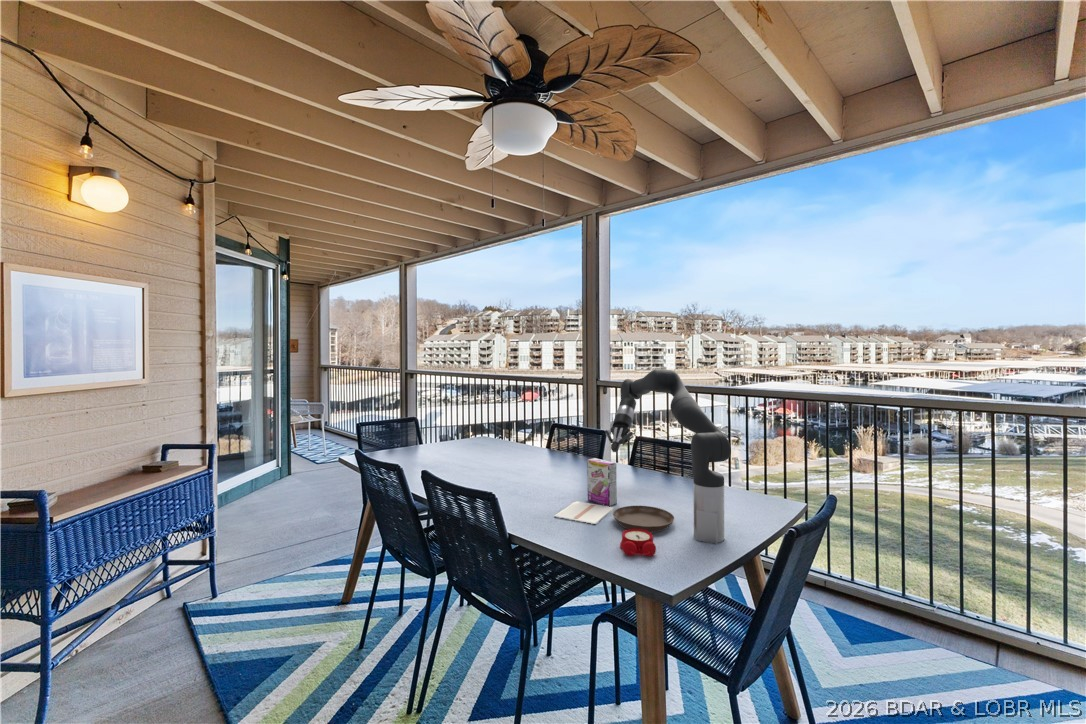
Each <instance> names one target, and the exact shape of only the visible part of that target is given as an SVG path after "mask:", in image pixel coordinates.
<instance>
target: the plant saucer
mask: <svg viewBox="0 0 1086 724" xmlns="http://www.w3.org/2000/svg"><path fill="white" fill-rule="evenodd" d="M612 516H613V518H614V520H615V521H616V522H617V523H618V524H619V525H620V526H621V527H622V528H625V529H626V530H629V529H642V530H646V531H648V532H650V533H657V532H658V533H659V532H663V531H664V530H666V529H668V528H669V527H670V526H671V525H672V524H673V522H674V521H675V516H674V514H672V512H669V511H668V510H665V509H663V508H660V507H655V506H648V505H627V506H626V505H625V506H623V507H622V506H621V507H618V508H617V509H614V510H613V511H612Z"/></svg>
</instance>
